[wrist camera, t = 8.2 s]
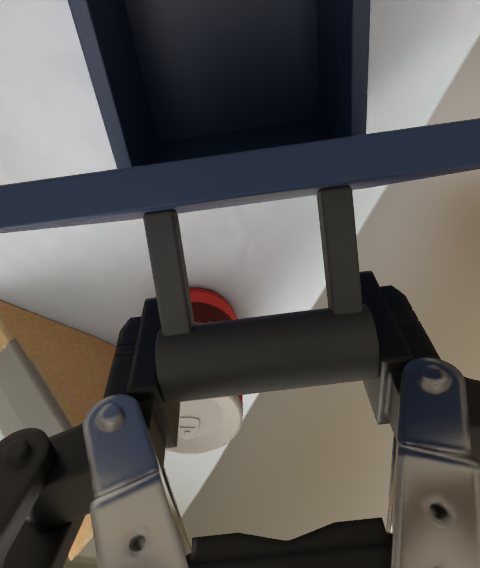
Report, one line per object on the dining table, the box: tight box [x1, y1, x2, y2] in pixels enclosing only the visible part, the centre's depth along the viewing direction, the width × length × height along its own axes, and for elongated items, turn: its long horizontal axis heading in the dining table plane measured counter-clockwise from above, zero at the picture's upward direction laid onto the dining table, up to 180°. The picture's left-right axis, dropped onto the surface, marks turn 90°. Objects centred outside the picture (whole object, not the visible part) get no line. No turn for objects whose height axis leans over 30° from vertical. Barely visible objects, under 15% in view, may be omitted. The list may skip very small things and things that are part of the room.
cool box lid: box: [0, 118, 480, 403], centre depth 16 cm, size 16×13×5 cm
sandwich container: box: [0, 301, 116, 560], centre depth 36 cm, size 9×15×15 cm, turn 57°
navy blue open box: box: [68, 0, 370, 169], centre depth 23 cm, size 15×13×9 cm
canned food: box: [165, 288, 243, 454], centre depth 36 cm, size 8×8×11 cm
